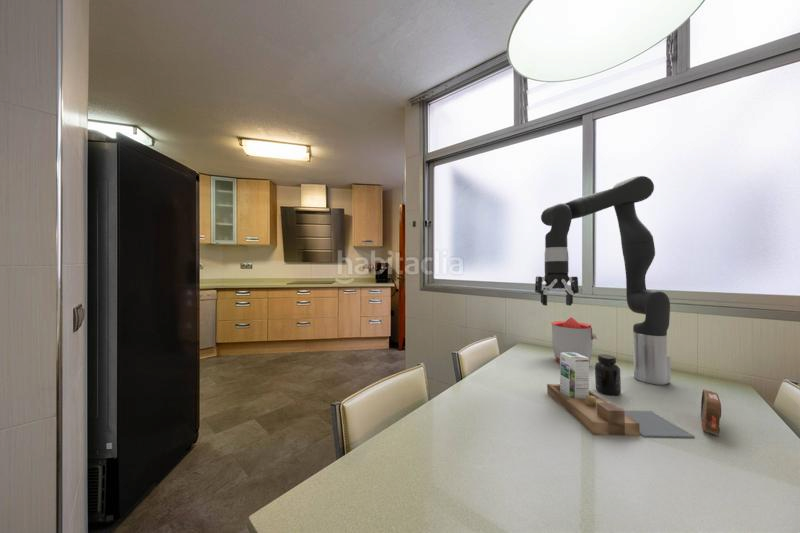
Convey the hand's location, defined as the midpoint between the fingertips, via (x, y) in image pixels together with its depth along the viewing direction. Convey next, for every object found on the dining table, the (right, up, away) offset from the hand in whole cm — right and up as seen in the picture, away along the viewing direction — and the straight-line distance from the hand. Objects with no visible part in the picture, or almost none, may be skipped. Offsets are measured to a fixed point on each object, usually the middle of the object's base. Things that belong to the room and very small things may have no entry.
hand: (556, 305), depth 99 cm
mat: (+9, -28, -26) cm, 39 cm away
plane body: (-3, -28, -20) cm, 34 cm away
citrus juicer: (+20, -29, +21) cm, 41 cm away
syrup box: (-2, -28, -14) cm, 31 cm away
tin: (+24, -28, -28) cm, 46 cm away
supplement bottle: (+13, -28, -8) cm, 32 cm away
